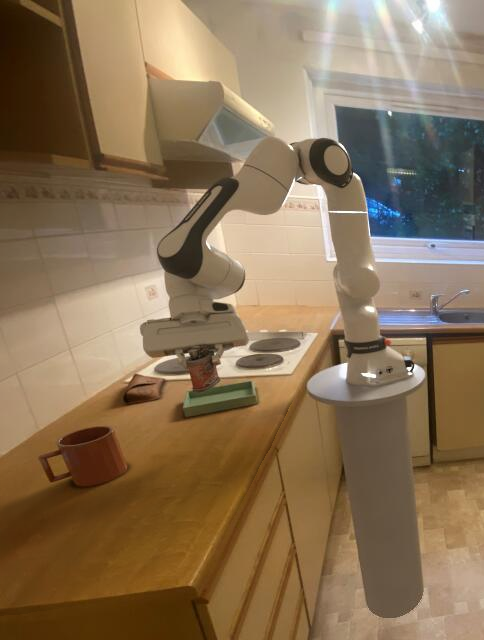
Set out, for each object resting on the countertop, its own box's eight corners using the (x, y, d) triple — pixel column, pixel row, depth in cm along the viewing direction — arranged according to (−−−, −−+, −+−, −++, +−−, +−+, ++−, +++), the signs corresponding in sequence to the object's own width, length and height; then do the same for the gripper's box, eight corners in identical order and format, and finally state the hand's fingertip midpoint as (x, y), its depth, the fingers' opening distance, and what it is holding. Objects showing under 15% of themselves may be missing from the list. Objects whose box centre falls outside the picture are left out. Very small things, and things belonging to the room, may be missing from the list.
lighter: (204, 393, 99) (194, 351, 95) (188, 392, 99) (178, 351, 95) (223, 379, 106) (215, 340, 102) (209, 379, 106) (200, 340, 102)
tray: (255, 388, 136) (253, 380, 135) (257, 403, 126) (255, 395, 125) (188, 399, 128) (186, 391, 127) (185, 417, 118) (182, 408, 117)
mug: (121, 459, 98) (107, 421, 95) (132, 472, 93) (117, 434, 90) (50, 482, 90) (31, 442, 86) (57, 499, 85) (37, 457, 81)
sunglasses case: (161, 397, 128) (140, 381, 124) (139, 412, 127) (117, 397, 123) (166, 378, 142) (147, 363, 138) (146, 391, 140) (127, 377, 137)
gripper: (134, 313, 96) (141, 367, 92) (240, 303, 106) (251, 352, 102) (143, 328, 102) (151, 380, 98) (243, 317, 112) (254, 364, 108)
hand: (203, 365), depth 100 cm, fingers closed on lighter, 4 cm apart
